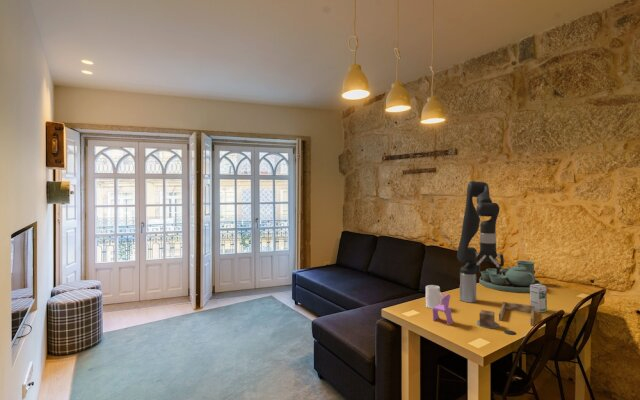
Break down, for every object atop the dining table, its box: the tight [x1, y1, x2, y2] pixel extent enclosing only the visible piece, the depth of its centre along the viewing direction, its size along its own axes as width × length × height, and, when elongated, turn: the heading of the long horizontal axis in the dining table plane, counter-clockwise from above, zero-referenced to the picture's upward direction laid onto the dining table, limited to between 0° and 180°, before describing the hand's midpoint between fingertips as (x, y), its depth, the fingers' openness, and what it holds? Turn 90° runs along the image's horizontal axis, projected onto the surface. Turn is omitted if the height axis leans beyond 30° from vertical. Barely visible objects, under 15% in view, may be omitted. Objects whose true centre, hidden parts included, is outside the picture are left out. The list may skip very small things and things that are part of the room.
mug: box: [424, 284, 445, 310], centre depth 203 cm, size 8×12×12 cm
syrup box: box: [529, 284, 548, 313], centre depth 195 cm, size 6×6×14 cm
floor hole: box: [503, 329, 517, 336], centre depth 165 cm, size 5×5×1 cm
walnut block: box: [479, 309, 496, 327], centre depth 175 cm, size 6×6×6 cm
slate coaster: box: [476, 319, 499, 329], centre depth 176 cm, size 10×10×1 cm
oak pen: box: [498, 301, 536, 327], centre depth 187 cm, size 15×23×4 cm, turn 147°
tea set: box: [479, 260, 544, 294], centre depth 249 cm, size 40×40×16 cm
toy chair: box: [432, 293, 454, 326], centre depth 181 cm, size 8×9×15 cm
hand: (488, 273), depth 176 cm, fingers open, 8 cm apart
